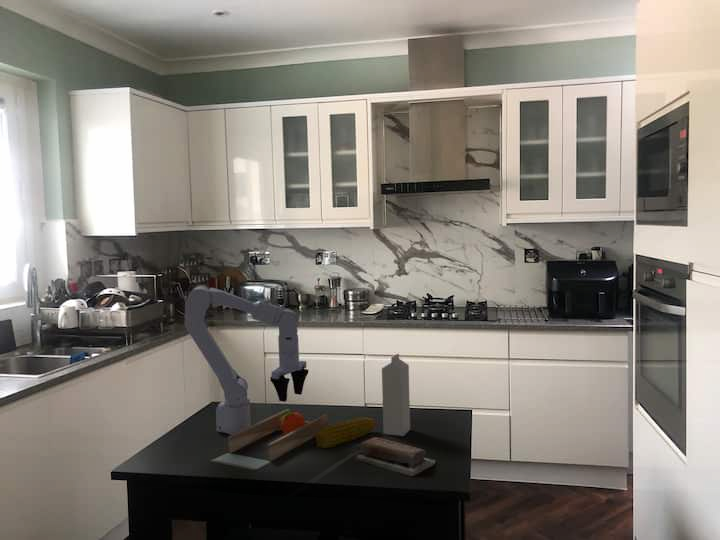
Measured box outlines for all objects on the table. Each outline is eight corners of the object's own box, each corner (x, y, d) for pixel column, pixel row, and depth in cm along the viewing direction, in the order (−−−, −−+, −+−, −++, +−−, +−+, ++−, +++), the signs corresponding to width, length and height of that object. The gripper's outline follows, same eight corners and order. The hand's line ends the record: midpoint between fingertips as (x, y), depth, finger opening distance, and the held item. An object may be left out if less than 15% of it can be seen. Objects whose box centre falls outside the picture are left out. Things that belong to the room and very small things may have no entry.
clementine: (284, 443, 176) (283, 418, 175) (273, 436, 182) (272, 412, 181) (310, 437, 180) (309, 412, 180) (299, 430, 186) (298, 406, 185)
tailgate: (227, 456, 168) (210, 463, 162) (227, 452, 168) (210, 460, 162) (271, 464, 161) (255, 473, 155) (271, 461, 161) (254, 469, 155)
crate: (228, 455, 168) (227, 436, 168) (287, 425, 191) (287, 408, 191) (272, 464, 161) (271, 444, 161) (327, 431, 184) (327, 414, 184)
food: (327, 454, 168) (327, 432, 167) (313, 449, 171) (312, 427, 171) (380, 432, 183) (379, 412, 182) (365, 428, 187) (365, 408, 186)
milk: (410, 429, 184) (409, 353, 182) (403, 436, 179) (402, 358, 177) (390, 427, 187) (389, 352, 185) (382, 434, 181) (381, 356, 179)
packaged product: (353, 443, 162) (378, 432, 170) (354, 461, 163) (378, 450, 170) (412, 458, 151) (435, 446, 158) (413, 478, 151) (436, 465, 159)
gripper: (285, 357, 177) (287, 405, 178) (314, 347, 190) (316, 392, 191) (264, 355, 181) (266, 402, 182) (294, 345, 193) (296, 390, 195)
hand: (290, 397), depth 187 cm, fingers open, 7 cm apart
